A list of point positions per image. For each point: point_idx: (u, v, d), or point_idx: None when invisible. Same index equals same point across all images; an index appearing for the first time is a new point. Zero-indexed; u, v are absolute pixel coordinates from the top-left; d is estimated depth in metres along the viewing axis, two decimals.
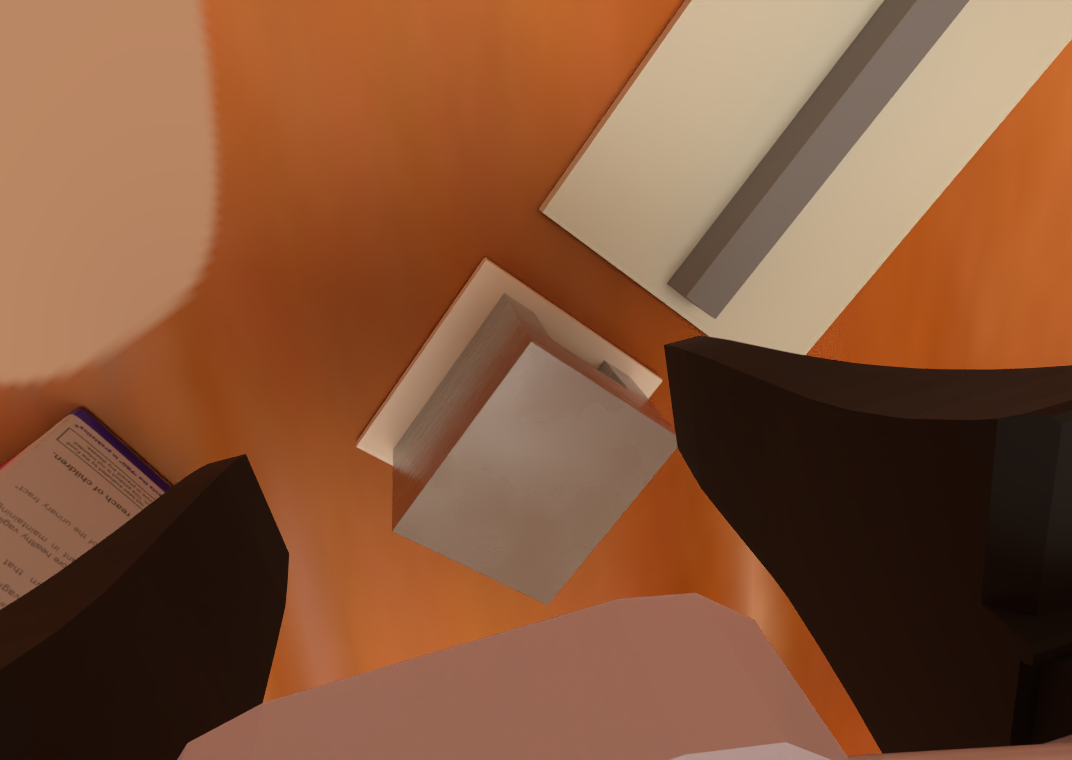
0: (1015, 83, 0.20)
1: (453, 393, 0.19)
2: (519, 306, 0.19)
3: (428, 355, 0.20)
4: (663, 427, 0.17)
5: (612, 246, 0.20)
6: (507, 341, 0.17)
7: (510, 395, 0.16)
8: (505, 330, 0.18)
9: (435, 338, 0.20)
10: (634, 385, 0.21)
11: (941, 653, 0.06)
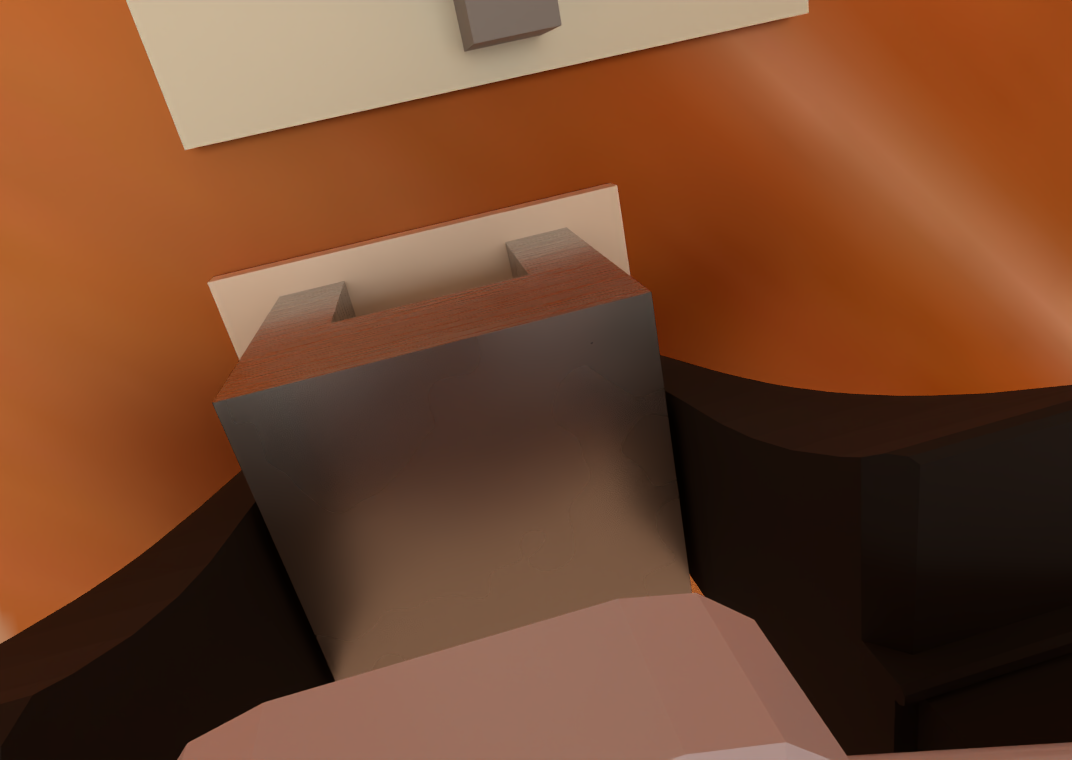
0: None
1: None
2: (298, 300, 0.11)
3: None
4: (592, 306, 0.08)
5: (328, 87, 0.10)
6: None
7: (290, 496, 0.08)
8: None
9: None
10: (565, 241, 0.11)
11: (835, 686, 0.06)
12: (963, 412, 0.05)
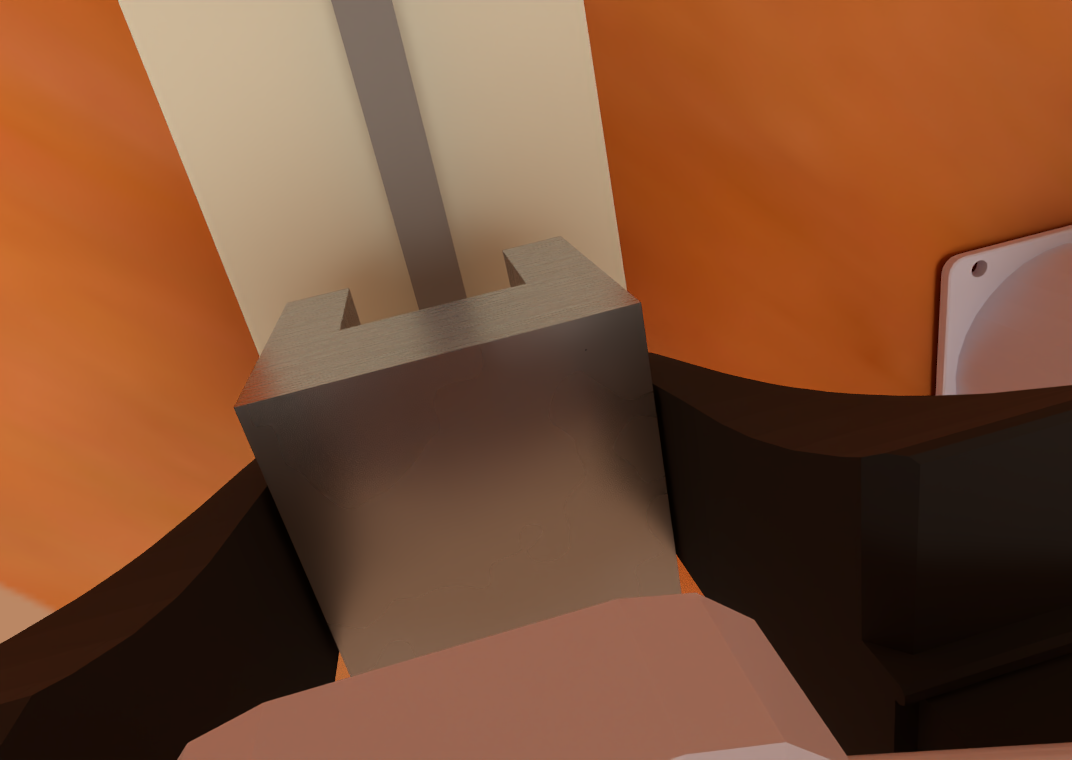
0: None
1: None
2: (306, 307, 0.11)
3: None
4: (586, 316, 0.08)
5: None
6: None
7: (305, 494, 0.08)
8: None
9: None
10: (560, 250, 0.11)
11: (836, 686, 0.06)
12: (963, 412, 0.05)
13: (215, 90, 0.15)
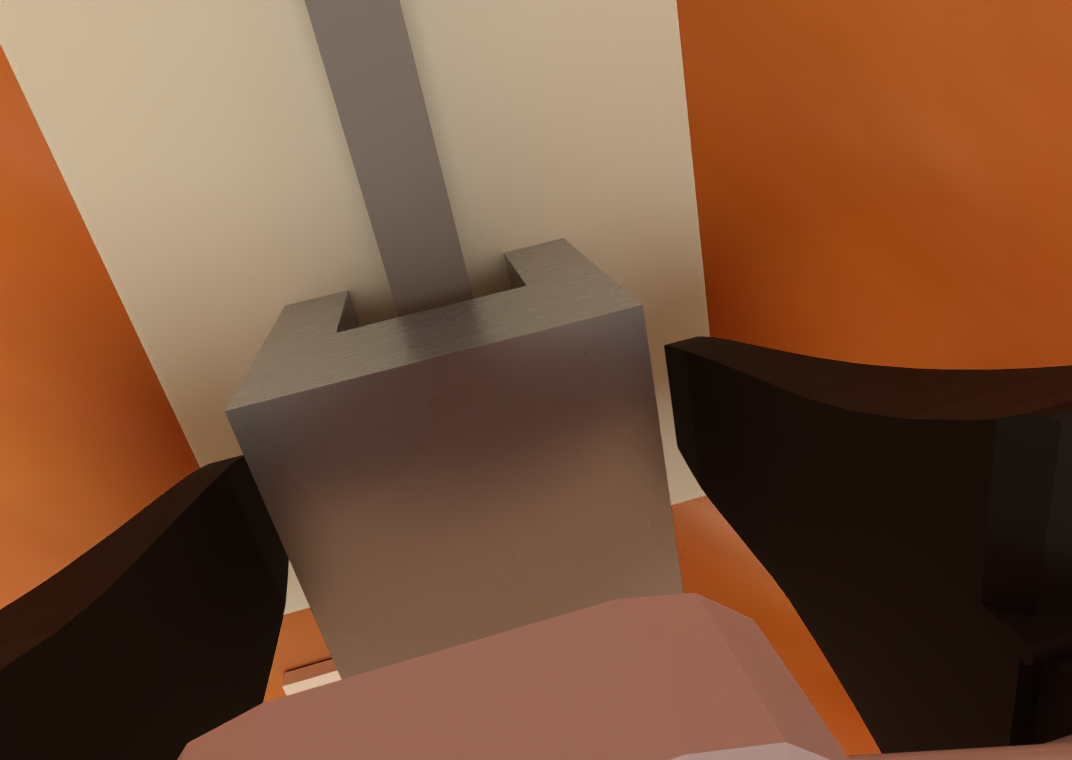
0: None
1: None
2: (304, 309, 0.11)
3: None
4: (586, 318, 0.08)
5: None
6: None
7: (298, 500, 0.08)
8: None
9: None
10: (562, 252, 0.11)
11: (941, 653, 0.06)
12: None
13: (115, 83, 0.10)
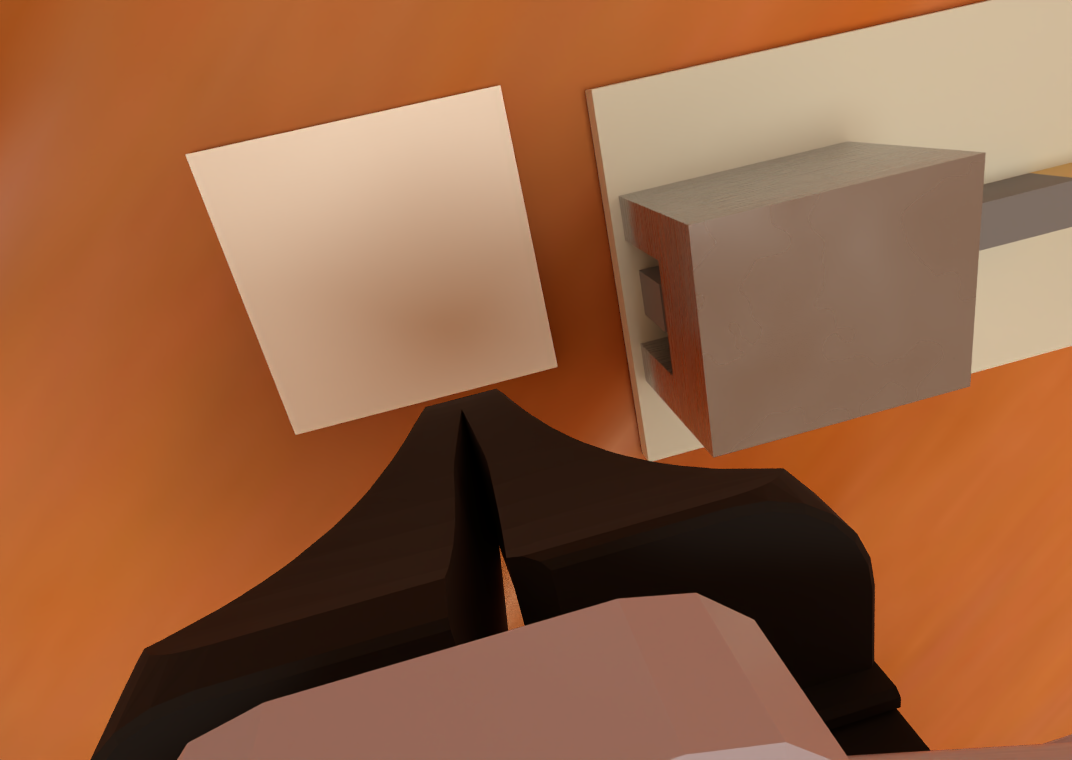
0: (1004, 349, 0.20)
1: (774, 173, 0.15)
2: None
3: (357, 127, 0.15)
4: (971, 357, 0.15)
5: (623, 187, 0.16)
6: (906, 154, 0.14)
7: (919, 188, 0.13)
8: (887, 151, 0.15)
9: (381, 116, 0.15)
10: None
11: None
12: (663, 496, 0.05)
13: (989, 57, 0.17)
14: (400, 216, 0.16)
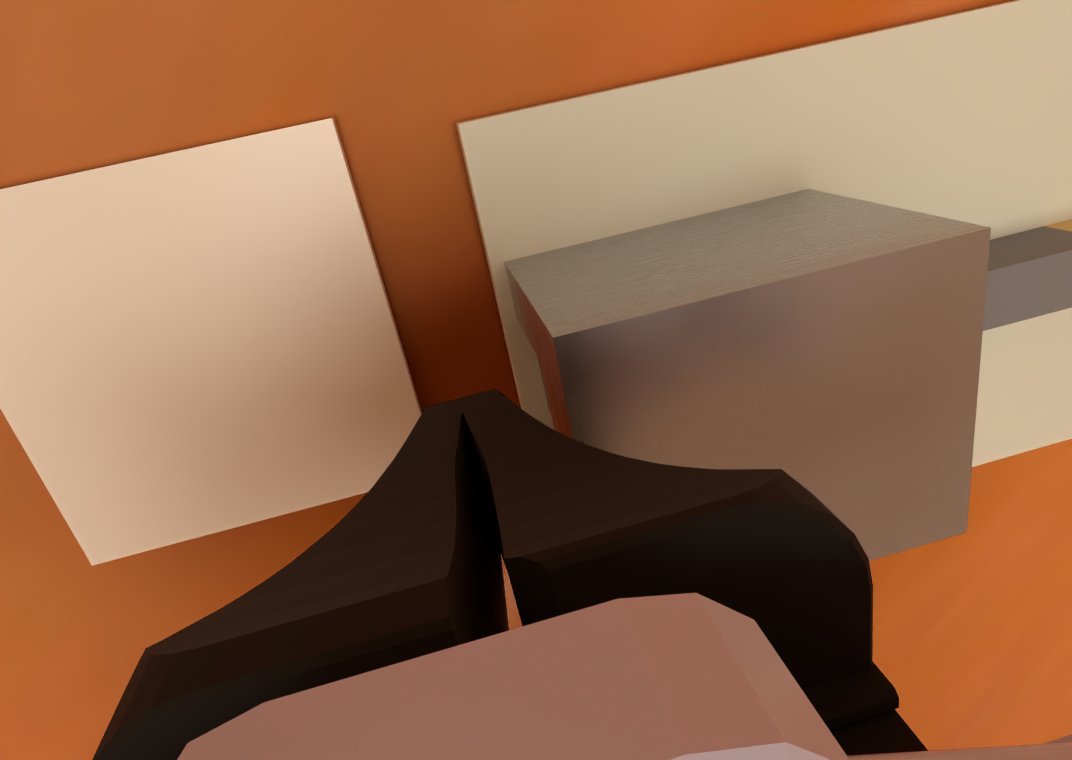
0: (1009, 438, 0.16)
1: (703, 240, 0.11)
2: None
3: (133, 175, 0.11)
4: (968, 496, 0.11)
5: (510, 250, 0.12)
6: (879, 220, 0.10)
7: (895, 279, 0.09)
8: (856, 212, 0.11)
9: (166, 161, 0.11)
10: None
11: None
12: (661, 497, 0.05)
13: (994, 79, 0.13)
14: (207, 291, 0.12)
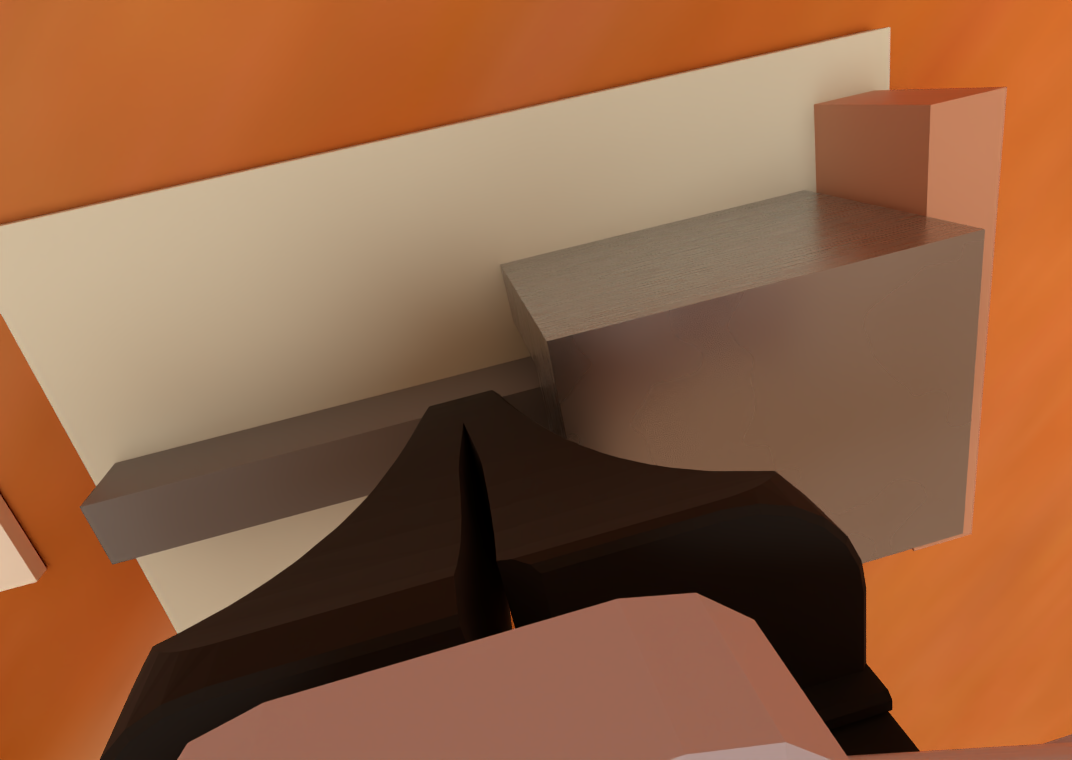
0: None
1: (698, 242, 0.11)
2: None
3: None
4: (964, 497, 0.11)
5: (55, 360, 0.12)
6: (873, 222, 0.10)
7: (890, 282, 0.09)
8: (851, 213, 0.11)
9: None
10: None
11: None
12: (654, 499, 0.05)
13: (583, 173, 0.12)
14: None
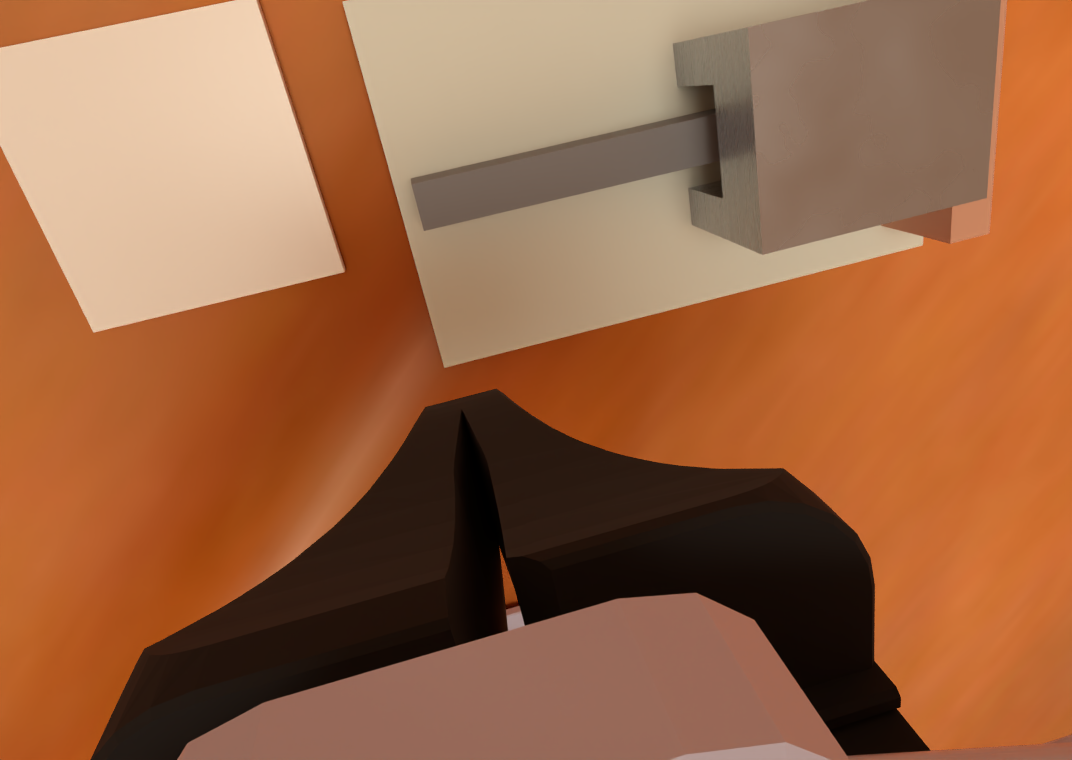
0: (785, 264, 0.21)
1: (814, 12, 0.17)
2: None
3: (120, 34, 0.16)
4: (987, 169, 0.17)
5: (385, 96, 0.18)
6: None
7: (946, 2, 0.15)
8: None
9: (142, 24, 0.16)
10: None
11: None
12: (663, 497, 0.05)
13: None
14: (172, 121, 0.17)
